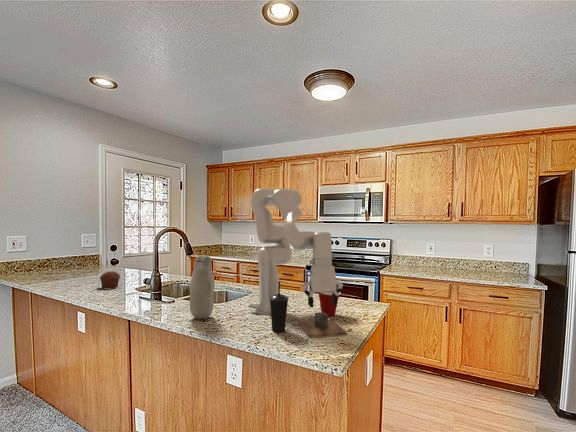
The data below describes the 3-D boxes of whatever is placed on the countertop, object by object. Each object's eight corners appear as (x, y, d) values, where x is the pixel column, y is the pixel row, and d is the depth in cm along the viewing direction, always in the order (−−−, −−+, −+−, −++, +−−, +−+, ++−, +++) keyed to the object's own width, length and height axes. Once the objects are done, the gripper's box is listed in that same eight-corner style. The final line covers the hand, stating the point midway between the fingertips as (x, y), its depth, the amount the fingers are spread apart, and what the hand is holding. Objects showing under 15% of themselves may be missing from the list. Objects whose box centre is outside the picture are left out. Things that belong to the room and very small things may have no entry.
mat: (308, 340, 109) (308, 338, 109) (296, 325, 124) (296, 323, 125) (348, 337, 113) (348, 335, 113) (332, 323, 128) (332, 321, 128)
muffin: (107, 290, 184) (108, 273, 184) (94, 288, 188) (95, 272, 188) (124, 286, 195) (124, 271, 195) (112, 285, 199) (112, 270, 199)
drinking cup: (272, 337, 111) (273, 283, 112) (266, 330, 118) (266, 280, 119) (291, 334, 115) (292, 282, 115) (283, 328, 122) (284, 279, 122)
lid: (308, 337, 110) (309, 321, 110) (297, 324, 124) (298, 309, 124) (346, 334, 113) (346, 318, 113) (331, 321, 128) (331, 307, 128)
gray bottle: (184, 320, 130) (186, 255, 130) (199, 313, 139) (201, 253, 140) (203, 323, 126) (204, 257, 127) (217, 316, 136) (218, 254, 136)
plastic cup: (340, 321, 131) (340, 294, 131) (315, 319, 133) (316, 292, 134) (340, 314, 142) (341, 288, 142) (318, 312, 144) (318, 287, 144)
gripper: (304, 264, 113) (304, 309, 113) (346, 263, 118) (346, 306, 117) (299, 262, 121) (299, 305, 120) (338, 261, 125) (339, 302, 124)
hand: (322, 305), depth 118 cm, fingers open, 9 cm apart
